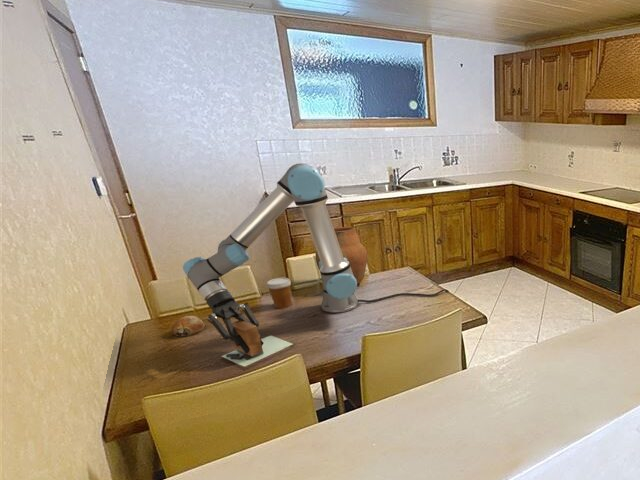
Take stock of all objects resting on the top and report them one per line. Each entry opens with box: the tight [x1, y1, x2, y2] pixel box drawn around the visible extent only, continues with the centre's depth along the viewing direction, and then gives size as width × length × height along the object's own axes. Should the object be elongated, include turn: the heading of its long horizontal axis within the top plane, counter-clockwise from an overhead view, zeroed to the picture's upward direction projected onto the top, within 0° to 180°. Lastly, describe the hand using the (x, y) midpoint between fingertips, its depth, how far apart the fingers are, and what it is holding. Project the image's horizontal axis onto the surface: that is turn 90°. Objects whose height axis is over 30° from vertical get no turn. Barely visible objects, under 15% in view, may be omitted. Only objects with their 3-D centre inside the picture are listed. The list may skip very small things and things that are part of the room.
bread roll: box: [172, 315, 206, 337], centre depth 170 cm, size 10×10×8 cm
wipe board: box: [221, 334, 293, 367], centre depth 156 cm, size 18×14×1 cm
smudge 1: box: [226, 353, 240, 357], centre depth 151 cm, size 1×4×1 cm, turn 93°
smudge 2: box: [230, 356, 243, 360], centre depth 150 cm, size 1×4×1 cm, turn 81°
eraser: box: [232, 320, 264, 358], centre depth 152 cm, size 4×10×11 cm, turn 60°
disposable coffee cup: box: [266, 277, 292, 309], centre depth 193 cm, size 10×10×12 cm
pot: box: [314, 226, 368, 285], centre depth 215 cm, size 24×24×30 cm
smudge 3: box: [242, 354, 251, 360], centre depth 150 cm, size 1×4×1 cm, turn 58°
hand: (254, 348), depth 151 cm, fingers closed on eraser, 4 cm apart
